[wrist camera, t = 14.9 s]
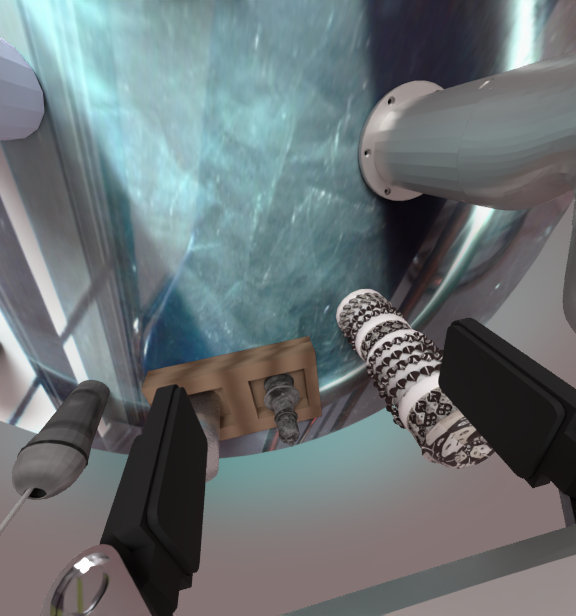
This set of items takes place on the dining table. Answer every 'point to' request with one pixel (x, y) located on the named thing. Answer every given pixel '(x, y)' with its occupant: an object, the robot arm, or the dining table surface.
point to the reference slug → (209, 426)
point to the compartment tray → (246, 383)
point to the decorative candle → (409, 379)
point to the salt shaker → (283, 405)
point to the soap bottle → (18, 95)
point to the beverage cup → (59, 447)
